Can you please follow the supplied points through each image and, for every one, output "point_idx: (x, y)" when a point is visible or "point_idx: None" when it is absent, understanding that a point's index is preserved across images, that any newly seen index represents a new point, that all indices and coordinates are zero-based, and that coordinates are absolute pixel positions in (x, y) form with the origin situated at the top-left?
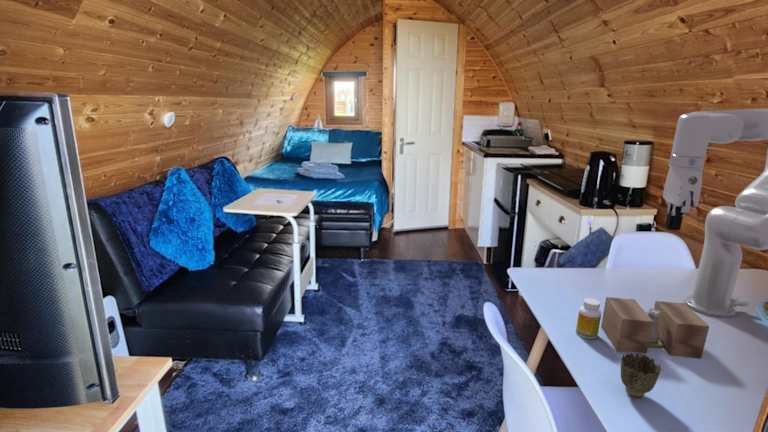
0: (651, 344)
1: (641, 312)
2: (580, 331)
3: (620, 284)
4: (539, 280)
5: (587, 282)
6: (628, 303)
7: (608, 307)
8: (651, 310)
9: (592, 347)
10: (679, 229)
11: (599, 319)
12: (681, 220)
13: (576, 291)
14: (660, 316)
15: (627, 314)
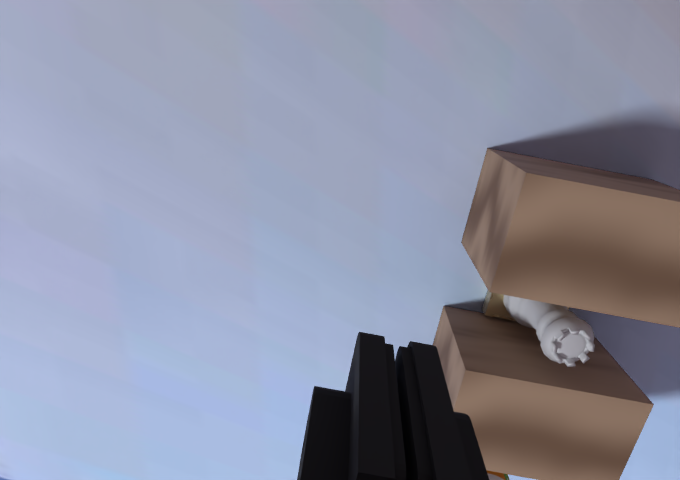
0: (568, 307)
1: (578, 406)
2: None
3: (53, 120)
4: (75, 426)
5: (59, 258)
6: (500, 412)
7: None
8: (557, 350)
9: None
10: (432, 349)
11: (507, 477)
12: (453, 435)
13: (156, 339)
14: (591, 330)
15: (584, 461)
